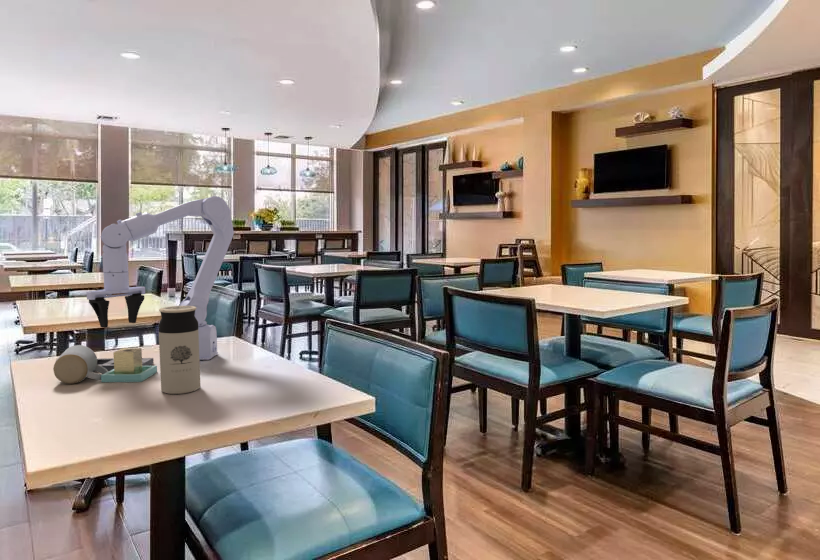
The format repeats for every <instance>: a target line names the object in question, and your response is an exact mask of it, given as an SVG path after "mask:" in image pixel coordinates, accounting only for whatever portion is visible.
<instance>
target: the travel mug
mask: <svg viewBox="0 0 820 560" xmlns="http://www.w3.org/2000/svg"><path fill="white" fill-rule="evenodd" d="M195 310H196V307H195V306H179V305H174V306H173V305H171V306H165V307H161V308H159V309H158V311H159V312H160V315H161V318H160V321H159V323H158V347H159V367H160V368H159V369H160V370H159V372H160V391H161V392H162V393H165V394H168V395H185V394H189V393H193V392H195V391H197V390H198V389H200V388H201V369H200V367H201V366H200V365H201V362H200V361H201V360H199V333H198V321H197V319H196V318H195V316H194V315H195Z"/></svg>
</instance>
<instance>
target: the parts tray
mask: <svg viewBox="0 0 820 560" xmlns="http://www.w3.org/2000/svg"><path fill="white" fill-rule="evenodd" d="M142 371H143V372H142V373H140V374H114V369H113V370H111V371H109V372H107V373H105V374H103V375H101V380H100V382H101V383H142V382H144V381H146V379H149V377H152V376H154V375H155V374H157V373H158V365H150V366H142Z"/></svg>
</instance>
